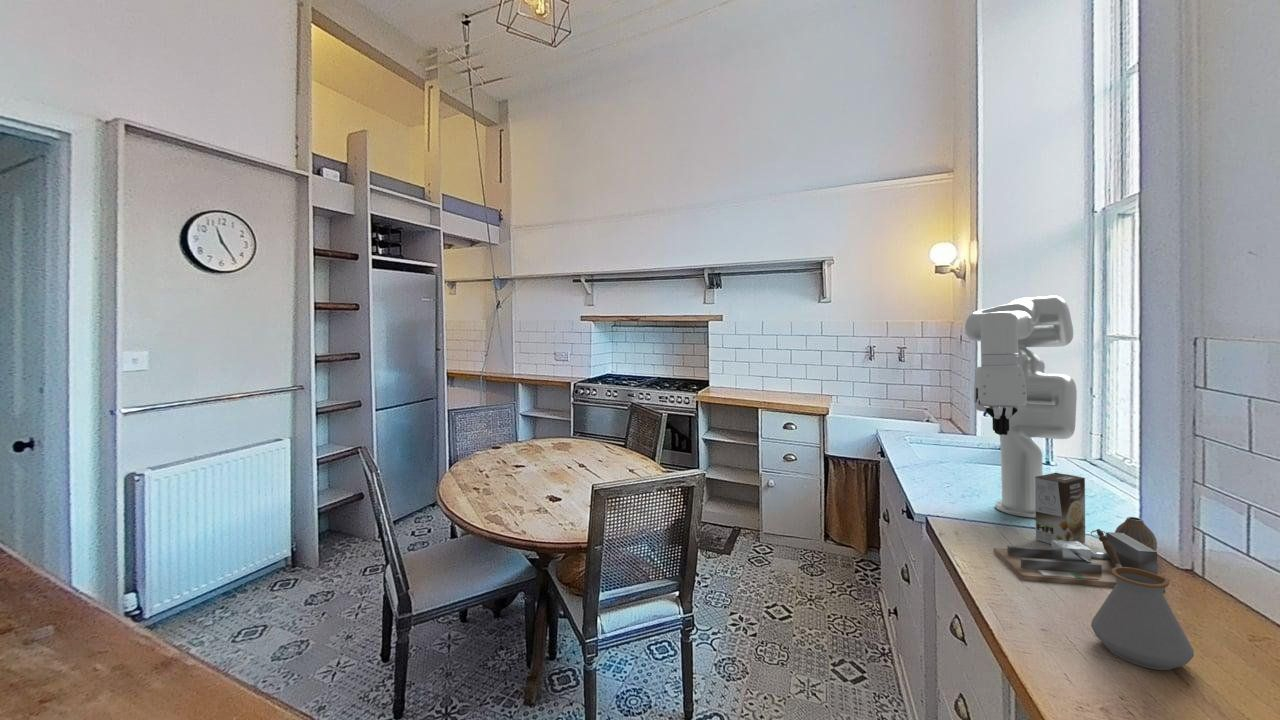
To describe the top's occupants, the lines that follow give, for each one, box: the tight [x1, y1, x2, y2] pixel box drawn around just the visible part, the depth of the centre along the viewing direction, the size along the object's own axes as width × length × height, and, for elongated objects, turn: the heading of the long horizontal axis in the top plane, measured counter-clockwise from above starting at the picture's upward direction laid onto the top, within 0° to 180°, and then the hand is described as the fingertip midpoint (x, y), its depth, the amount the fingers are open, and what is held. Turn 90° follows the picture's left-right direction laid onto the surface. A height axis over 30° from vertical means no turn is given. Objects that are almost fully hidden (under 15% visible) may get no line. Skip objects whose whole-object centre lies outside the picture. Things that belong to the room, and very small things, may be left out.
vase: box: [1114, 516, 1158, 552], centre depth 110 cm, size 7×7×9 cm
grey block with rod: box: [1051, 540, 1118, 563], centre depth 103 cm, size 11×9×4 cm
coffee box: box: [1035, 472, 1086, 545], centre depth 120 cm, size 9×6×16 cm
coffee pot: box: [1090, 528, 1195, 671], centre depth 82 cm, size 21×12×15 cm, turn 154°
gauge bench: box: [993, 531, 1166, 592], centre depth 105 cm, size 24×14×7 cm, turn 74°
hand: (1000, 433), depth 121 cm, fingers closed
